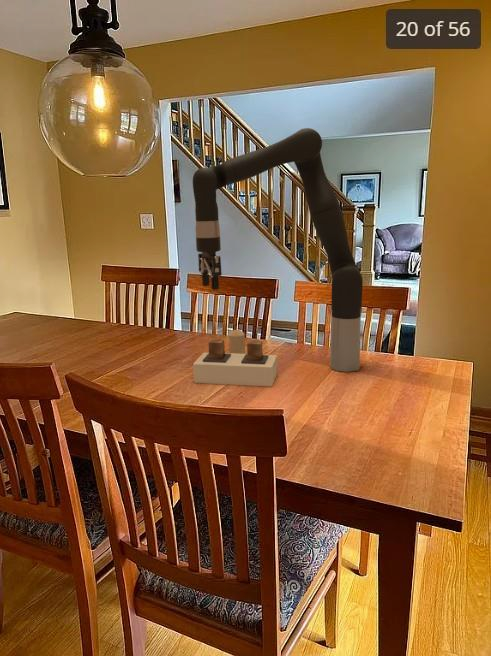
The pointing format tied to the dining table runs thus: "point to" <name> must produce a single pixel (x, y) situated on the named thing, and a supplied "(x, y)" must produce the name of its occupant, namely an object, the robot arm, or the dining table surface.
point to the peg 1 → (216, 349)
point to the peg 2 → (254, 350)
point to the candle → (237, 342)
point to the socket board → (235, 370)
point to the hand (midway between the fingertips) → (210, 287)
